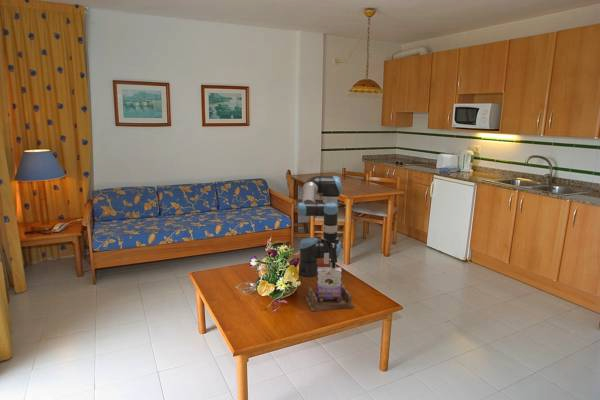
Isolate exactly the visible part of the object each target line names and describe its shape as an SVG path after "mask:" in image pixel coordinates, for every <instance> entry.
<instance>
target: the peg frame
mask: <svg viewBox="0 0 600 400" xmlns="http://www.w3.org/2000/svg"><path fill="white" fill-rule="evenodd" d="M304 298H305V301H306V303H307V304H308V307H309V309H310V311H311V312H321V311H331V310H342V309H353V308H354V309H355V304H354V303H353V302H352V294H351V293H350V291H349V290H348V289H347V288H346V286H345V284H344V283H343V282H342V290H341V298H317V291H314V290H313V287H312V286H311V284H308V285H307V294H304Z"/></svg>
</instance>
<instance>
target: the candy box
mask: <svg viewBox="0 0 600 400" xmlns="http://www.w3.org/2000/svg"><path fill="white" fill-rule="evenodd" d="M342 273H343V270H342V266H341V267H340V266H339V267H338V266H336V273H332V274H331V273H330V266H319V267H317V276H316V292H317V298H341V290H342V283H343V281H342V280H343V278H342V277H343V276H342V275H343V274H342Z"/></svg>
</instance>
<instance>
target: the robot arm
mask: <svg viewBox="0 0 600 400" xmlns="http://www.w3.org/2000/svg"><path fill="white" fill-rule="evenodd" d="M302 191H303V196H302V200H301V201H302V202H298V203H297V215H298V216H302V217H323V226H322V228H323V235H322V236H321V237H320V240H319V239H318V238H317V237H312V236H311V237H306V238H303V239H301V240H300V243H299V262H300V263H298V265H299V274H300V275H299V274H298V275H299V276H301V277H307V278H309V277H317V267H320V265H319V262H318V259H323V264H324V265H330V266H329V267H330V273H331V274H332V273H336V267H337V265H336V264H337V263H338V258H339V256H340V253H341V252H340V251H341V248H342V247H341V245H342V242H341V241H340V239H339V237H338V221H339V220H338V216H339V214H338V212H339V206H338V199H339V198H340V196H341V195H342V194H343V191H342V181H341V177H339V176H336V175H314V176H312V177H310V178H308V179H307V180H306V181H305V182H303V185H302ZM317 195H321V198H323V202H316V198H317Z"/></svg>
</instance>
